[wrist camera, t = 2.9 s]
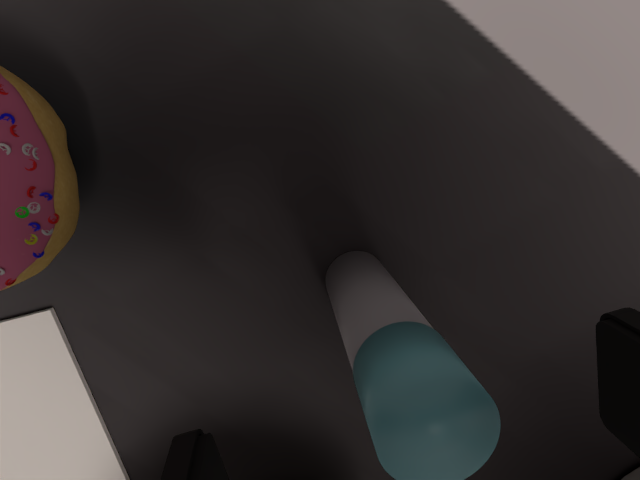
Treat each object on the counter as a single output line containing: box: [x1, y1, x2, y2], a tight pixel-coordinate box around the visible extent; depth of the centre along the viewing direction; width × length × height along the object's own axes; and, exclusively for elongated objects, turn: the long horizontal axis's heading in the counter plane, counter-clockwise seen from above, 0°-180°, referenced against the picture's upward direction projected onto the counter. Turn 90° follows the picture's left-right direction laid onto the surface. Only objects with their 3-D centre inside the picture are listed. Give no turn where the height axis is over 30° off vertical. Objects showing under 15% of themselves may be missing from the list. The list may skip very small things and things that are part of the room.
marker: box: [325, 251, 501, 480], centre depth 15 cm, size 3×3×11 cm
